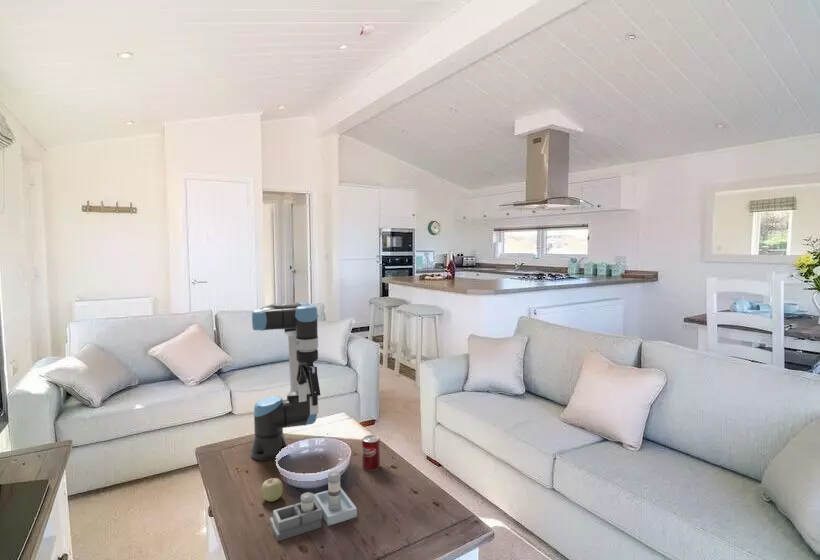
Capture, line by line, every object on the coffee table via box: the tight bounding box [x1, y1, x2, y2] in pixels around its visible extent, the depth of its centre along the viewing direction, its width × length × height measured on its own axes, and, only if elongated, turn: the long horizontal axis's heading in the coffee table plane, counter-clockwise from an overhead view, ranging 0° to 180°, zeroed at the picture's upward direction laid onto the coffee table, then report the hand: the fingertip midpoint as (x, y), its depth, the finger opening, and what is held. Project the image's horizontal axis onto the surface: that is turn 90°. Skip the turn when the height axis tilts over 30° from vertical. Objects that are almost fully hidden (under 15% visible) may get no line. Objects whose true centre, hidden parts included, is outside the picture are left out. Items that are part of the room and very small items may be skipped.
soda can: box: [361, 434, 381, 472], centre depth 183 cm, size 7×7×12 cm
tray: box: [313, 486, 358, 527], centre depth 155 cm, size 15×10×3 cm, turn 30°
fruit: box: [260, 477, 284, 503], centre depth 161 cm, size 8×7×8 cm
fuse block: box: [269, 491, 323, 542], centre depth 146 cm, size 10×15×9 cm
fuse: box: [327, 470, 341, 511], centre depth 154 cm, size 4×4×12 cm
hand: (308, 407), depth 163 cm, fingers open, 13 cm apart
